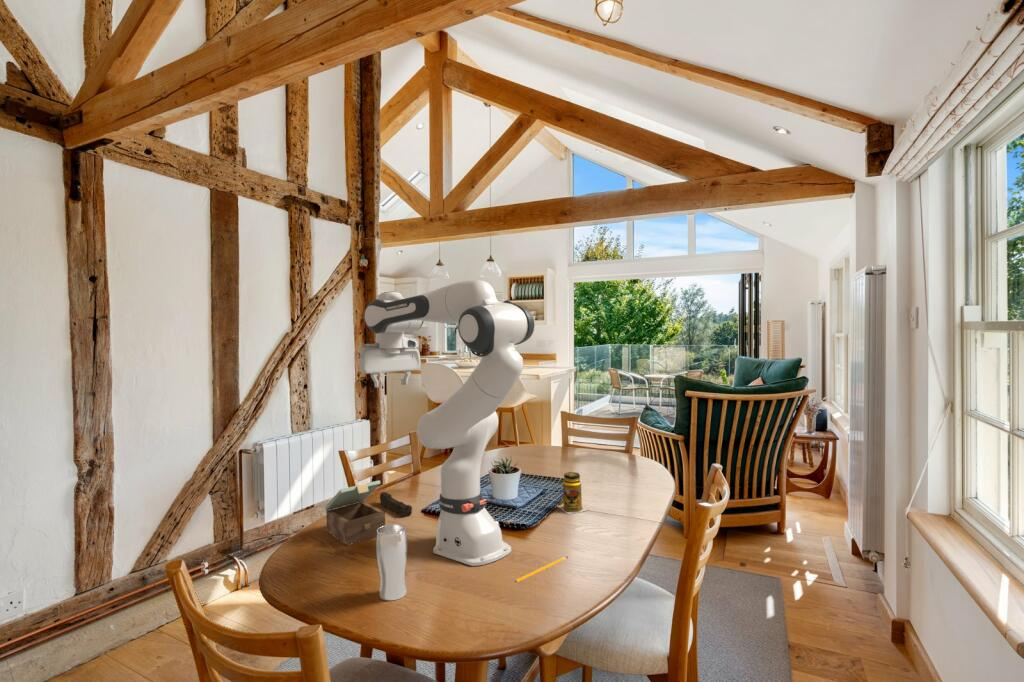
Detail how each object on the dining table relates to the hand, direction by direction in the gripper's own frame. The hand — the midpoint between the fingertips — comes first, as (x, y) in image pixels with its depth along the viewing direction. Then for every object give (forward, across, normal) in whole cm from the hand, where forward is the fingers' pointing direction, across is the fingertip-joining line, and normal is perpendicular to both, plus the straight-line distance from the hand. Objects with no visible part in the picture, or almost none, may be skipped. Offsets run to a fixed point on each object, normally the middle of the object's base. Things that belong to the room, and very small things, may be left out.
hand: (391, 386), depth 161 cm
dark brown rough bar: (+44, +4, +9) cm, 45 cm away
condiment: (+44, +48, -34) cm, 73 cm away
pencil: (+44, +10, -57) cm, 73 cm away
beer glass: (+44, -23, -41) cm, 64 cm away
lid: (+34, -14, -1) cm, 36 cm away
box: (+43, -14, -1) cm, 45 cm away
